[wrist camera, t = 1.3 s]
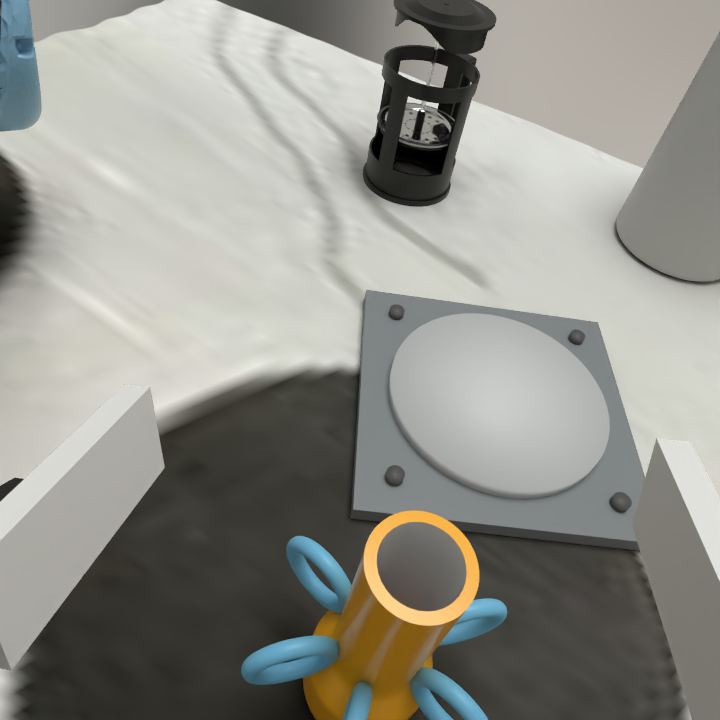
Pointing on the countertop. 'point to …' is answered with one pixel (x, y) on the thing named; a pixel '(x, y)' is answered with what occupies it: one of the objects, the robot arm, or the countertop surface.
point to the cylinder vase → (681, 187)
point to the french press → (420, 122)
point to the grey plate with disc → (492, 423)
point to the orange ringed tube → (384, 624)
